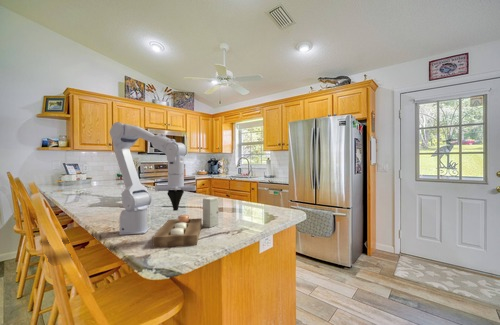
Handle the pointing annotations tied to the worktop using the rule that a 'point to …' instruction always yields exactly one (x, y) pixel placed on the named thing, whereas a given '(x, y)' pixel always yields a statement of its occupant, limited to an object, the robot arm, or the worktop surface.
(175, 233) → the white rounded cylinder
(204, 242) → the worktop surface
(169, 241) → the board
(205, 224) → the skincare box
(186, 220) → the rust plug
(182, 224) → the cream ball
